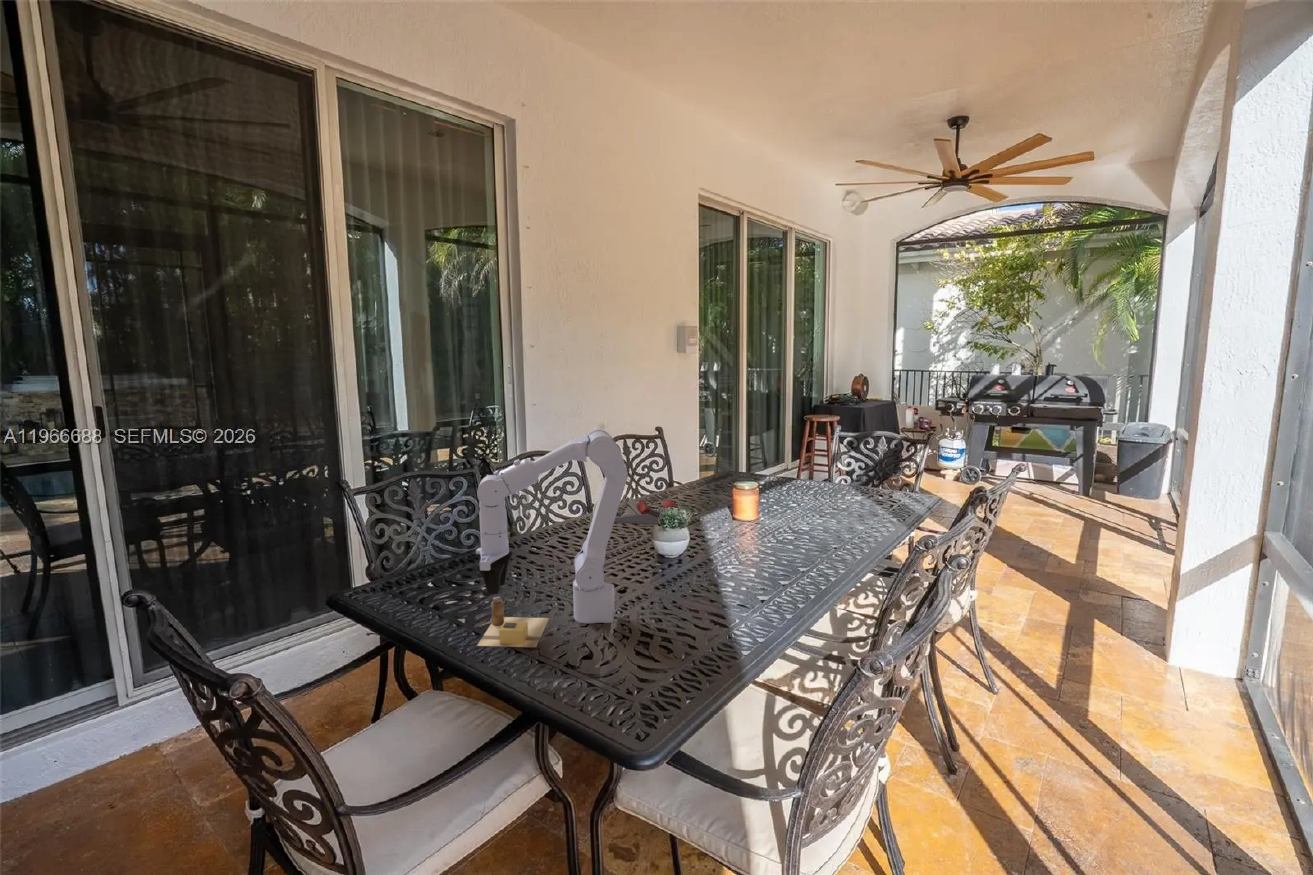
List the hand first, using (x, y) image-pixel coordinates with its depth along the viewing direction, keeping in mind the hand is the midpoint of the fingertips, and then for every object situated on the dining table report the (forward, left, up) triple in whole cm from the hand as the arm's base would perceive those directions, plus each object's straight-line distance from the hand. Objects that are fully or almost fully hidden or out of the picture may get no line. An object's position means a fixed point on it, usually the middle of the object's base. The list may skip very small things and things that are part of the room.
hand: (496, 588), depth 136 cm
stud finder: (-6, +7, -8) cm, 12 cm away
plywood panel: (-5, +4, -9) cm, 11 cm away
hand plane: (-24, -80, -10) cm, 84 cm away
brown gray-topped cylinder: (0, 0, -8) cm, 8 cm away
